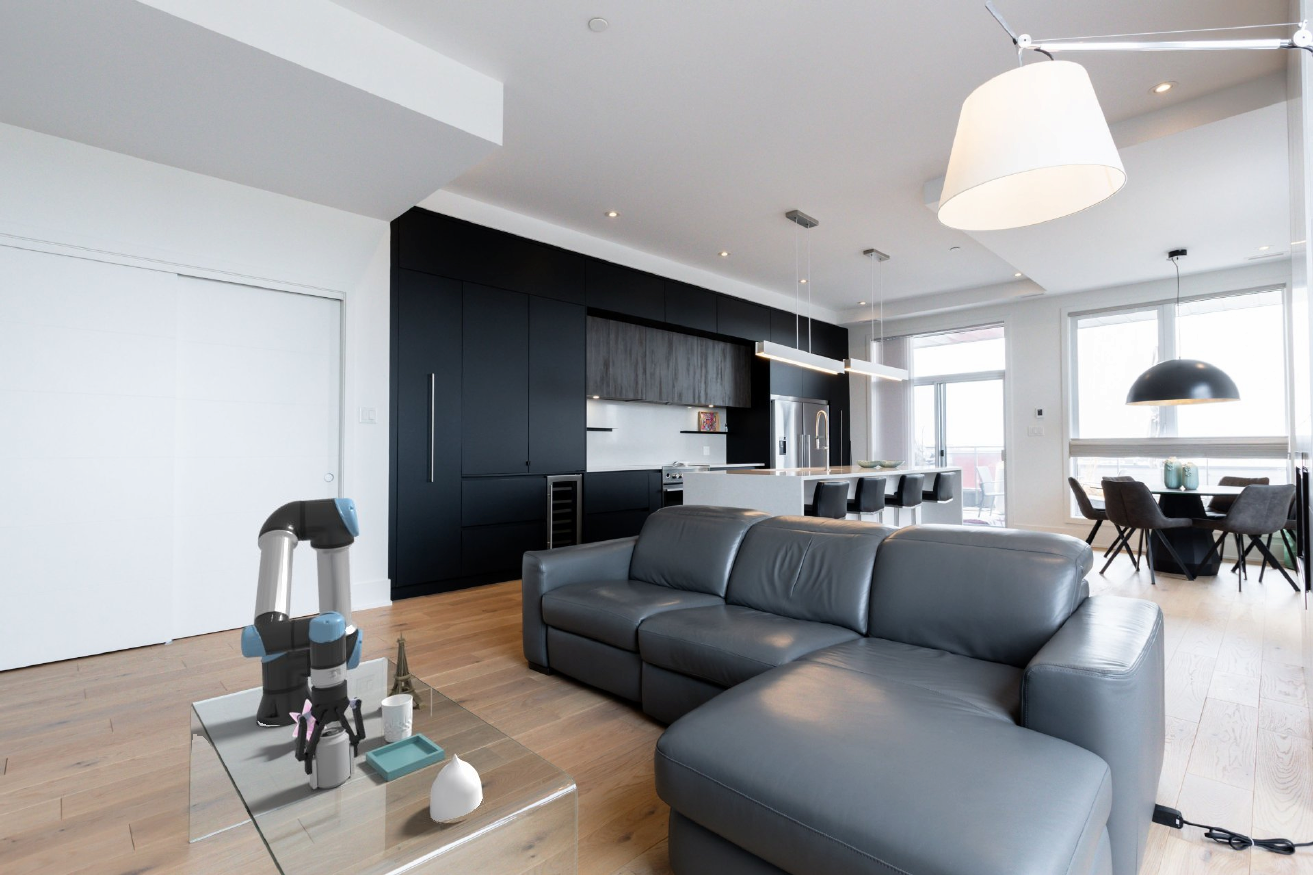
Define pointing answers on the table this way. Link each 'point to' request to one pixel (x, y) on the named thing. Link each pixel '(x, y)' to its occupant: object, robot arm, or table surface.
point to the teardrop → (455, 791)
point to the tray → (404, 756)
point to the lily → (309, 725)
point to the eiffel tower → (404, 677)
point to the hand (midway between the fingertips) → (332, 779)
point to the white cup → (397, 717)
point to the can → (332, 757)
